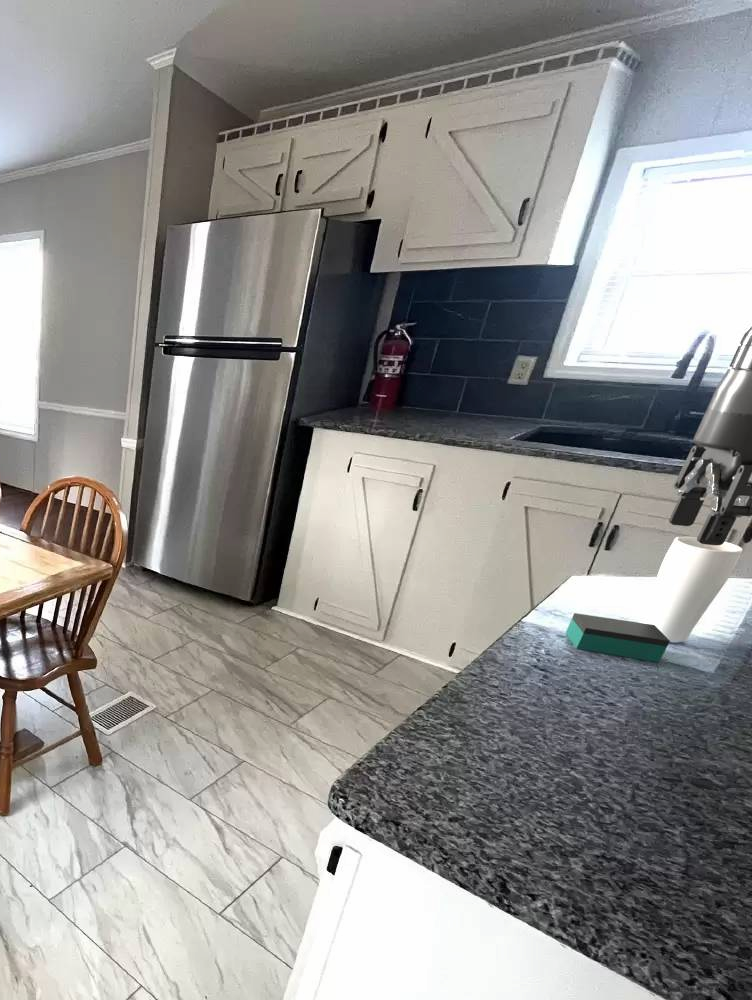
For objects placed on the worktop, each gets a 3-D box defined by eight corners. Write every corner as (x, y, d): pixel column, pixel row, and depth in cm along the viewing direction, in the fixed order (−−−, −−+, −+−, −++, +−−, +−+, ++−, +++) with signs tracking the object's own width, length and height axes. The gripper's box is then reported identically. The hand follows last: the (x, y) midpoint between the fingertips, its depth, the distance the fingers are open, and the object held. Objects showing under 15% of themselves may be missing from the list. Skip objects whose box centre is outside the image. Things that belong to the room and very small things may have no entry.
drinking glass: (688, 651, 92) (740, 555, 86) (624, 634, 97) (669, 542, 91) (696, 637, 96) (747, 544, 90) (635, 621, 101) (679, 532, 94)
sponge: (643, 645, 94) (654, 624, 93) (659, 662, 90) (670, 641, 88) (565, 632, 98) (574, 612, 97) (576, 648, 94) (585, 627, 92)
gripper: (837, 418, 70) (763, 555, 76) (767, 401, 81) (708, 522, 88) (739, 415, 73) (677, 547, 80) (685, 399, 84) (634, 516, 91)
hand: (693, 534), depth 84 cm, fingers open, 8 cm apart
